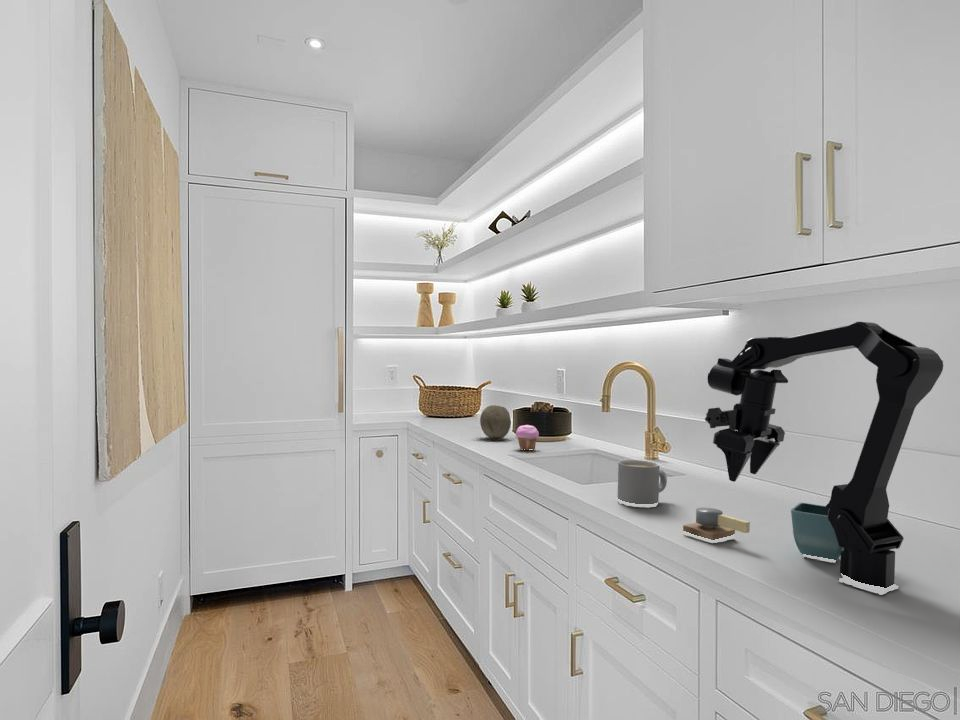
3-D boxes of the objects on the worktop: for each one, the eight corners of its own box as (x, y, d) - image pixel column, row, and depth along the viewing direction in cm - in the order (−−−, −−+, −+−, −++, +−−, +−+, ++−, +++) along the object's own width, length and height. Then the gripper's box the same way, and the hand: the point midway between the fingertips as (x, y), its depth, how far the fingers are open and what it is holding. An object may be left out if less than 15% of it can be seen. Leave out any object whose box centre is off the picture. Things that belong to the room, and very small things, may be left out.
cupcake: (527, 452, 218) (527, 426, 218) (510, 449, 224) (511, 424, 224) (542, 450, 224) (543, 425, 224) (526, 447, 230) (527, 422, 230)
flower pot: (798, 547, 112) (799, 501, 112) (852, 557, 106) (853, 509, 106) (788, 558, 105) (790, 509, 105) (845, 570, 100) (846, 519, 100)
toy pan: (755, 532, 111) (755, 519, 111) (739, 536, 108) (739, 522, 108) (706, 518, 120) (706, 506, 120) (690, 521, 118) (690, 509, 118)
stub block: (734, 539, 116) (734, 526, 116) (712, 544, 112) (713, 531, 112) (704, 530, 122) (705, 518, 122) (683, 534, 118) (683, 522, 118)
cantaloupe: (517, 440, 250) (518, 406, 250) (489, 442, 243) (490, 407, 243) (500, 436, 262) (501, 403, 262) (473, 437, 255) (474, 404, 255)
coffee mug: (627, 508, 138) (629, 467, 138) (610, 498, 148) (611, 460, 148) (678, 507, 140) (679, 466, 140) (658, 497, 150) (659, 459, 150)
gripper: (737, 389, 124) (725, 458, 126) (694, 395, 112) (681, 471, 114) (791, 401, 116) (777, 474, 118) (751, 409, 104) (736, 490, 106)
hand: (742, 477), depth 114 cm, fingers open, 9 cm apart
